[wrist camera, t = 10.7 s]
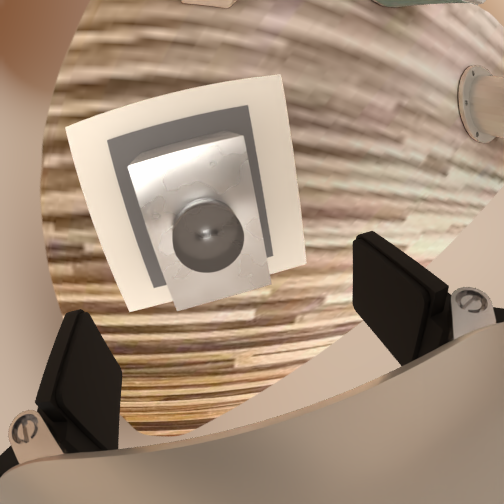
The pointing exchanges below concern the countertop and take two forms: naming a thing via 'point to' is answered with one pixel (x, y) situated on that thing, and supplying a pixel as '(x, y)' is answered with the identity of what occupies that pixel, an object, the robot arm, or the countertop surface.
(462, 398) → the robot arm
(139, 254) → the stand
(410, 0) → the disposable coffee cup
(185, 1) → the jar
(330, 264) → the countertop surface
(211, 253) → the housing
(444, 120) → the countertop surface
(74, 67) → the countertop surface
